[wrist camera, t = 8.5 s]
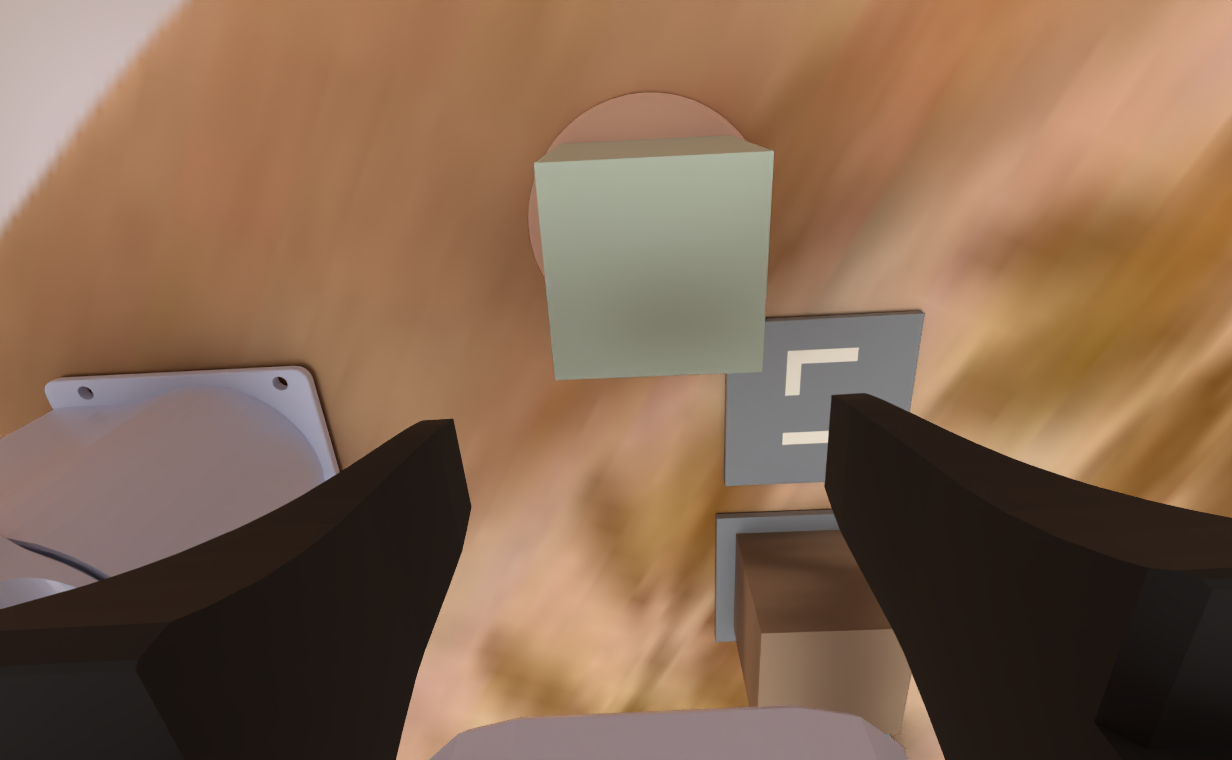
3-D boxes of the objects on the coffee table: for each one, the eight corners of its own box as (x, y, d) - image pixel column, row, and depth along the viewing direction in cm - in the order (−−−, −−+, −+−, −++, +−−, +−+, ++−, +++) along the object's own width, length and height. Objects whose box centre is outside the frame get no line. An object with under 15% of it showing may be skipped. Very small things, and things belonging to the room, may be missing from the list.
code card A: (724, 481, 24) (725, 486, 24) (726, 320, 21) (728, 323, 21) (896, 474, 24) (899, 478, 23) (920, 310, 21) (924, 313, 21)
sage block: (573, 304, 21) (554, 380, 15) (560, 143, 18) (533, 162, 13) (725, 298, 20) (762, 372, 15) (729, 135, 18) (774, 150, 13)
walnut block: (733, 628, 26) (756, 738, 22) (736, 533, 24) (761, 633, 20) (852, 624, 26) (900, 734, 22) (864, 528, 24) (920, 628, 20)
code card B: (714, 636, 27) (715, 641, 27) (715, 514, 24) (717, 518, 24) (865, 631, 27) (868, 636, 27) (883, 507, 24) (886, 512, 24)
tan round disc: (543, 338, 21) (541, 342, 21) (516, 100, 18) (513, 100, 18) (761, 327, 21) (764, 331, 21) (771, 84, 18) (774, 83, 18)
